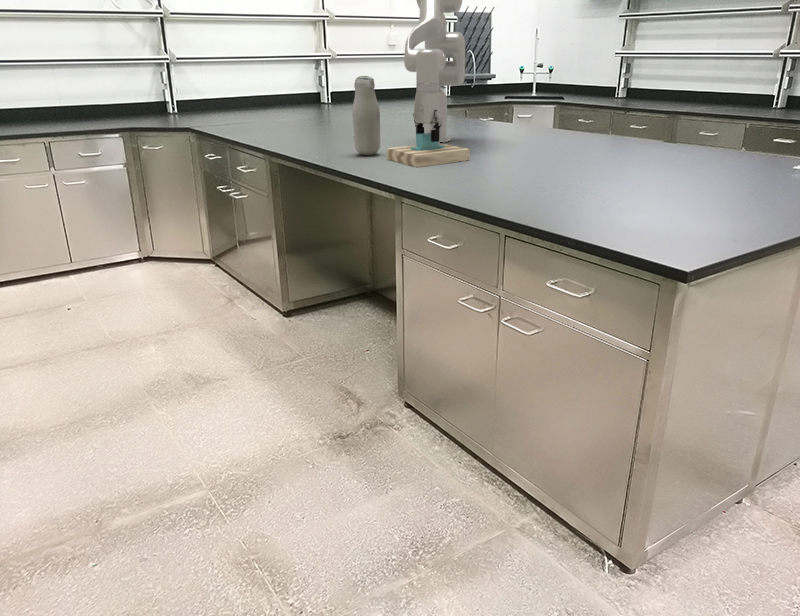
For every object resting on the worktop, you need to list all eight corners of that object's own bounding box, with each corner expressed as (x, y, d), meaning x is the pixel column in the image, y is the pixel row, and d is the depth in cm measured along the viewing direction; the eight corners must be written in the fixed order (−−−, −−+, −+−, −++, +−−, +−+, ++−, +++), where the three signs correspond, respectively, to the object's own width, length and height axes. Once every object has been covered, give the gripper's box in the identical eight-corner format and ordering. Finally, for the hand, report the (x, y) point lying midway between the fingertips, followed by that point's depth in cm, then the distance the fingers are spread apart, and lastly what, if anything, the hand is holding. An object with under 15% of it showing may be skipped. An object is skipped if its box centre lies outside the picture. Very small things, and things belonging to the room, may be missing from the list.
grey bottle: (382, 152, 240) (380, 74, 230) (378, 157, 231) (376, 76, 220) (356, 152, 241) (353, 75, 231) (352, 157, 232) (348, 76, 221)
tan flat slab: (386, 159, 226) (386, 148, 225) (437, 153, 237) (437, 142, 235) (416, 167, 210) (416, 155, 209) (469, 160, 221) (469, 149, 219)
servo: (410, 160, 222) (410, 132, 219) (438, 157, 228) (438, 129, 224) (416, 162, 219) (416, 133, 215) (444, 158, 225) (444, 130, 221)
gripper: (404, 88, 219) (405, 138, 226) (432, 90, 206) (432, 143, 212) (423, 87, 223) (423, 136, 229) (451, 89, 209) (450, 141, 216)
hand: (427, 140), depth 221 cm, fingers open, 9 cm apart
